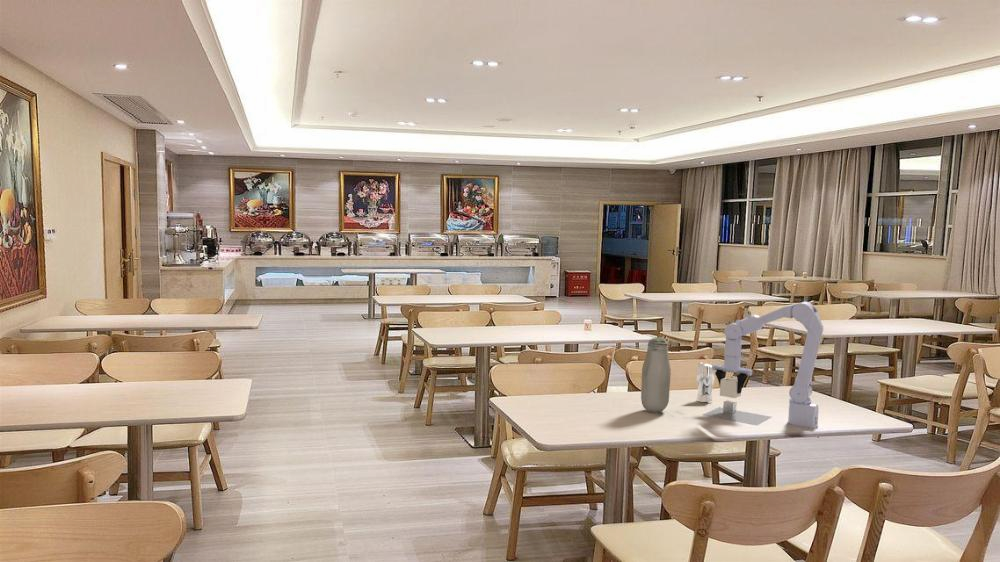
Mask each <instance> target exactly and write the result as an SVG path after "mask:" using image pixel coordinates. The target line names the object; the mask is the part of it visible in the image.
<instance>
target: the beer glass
mask: <svg viewBox="0 0 1000 562" xmlns="http://www.w3.org/2000/svg"><path fill="white" fill-rule="evenodd" d="M714 364H715V363H710V362H709V363H708V362H707V363H706V362H699V363H697V368H696V369H697V370H696V384H697V385H696V386H697V397H696V402H697V401H700V402H699V403H701V402H711V401H712V402H713V396H712V392H713V387H714V384H715V377H716V375H715V372H716V370H712V365H714Z"/></svg>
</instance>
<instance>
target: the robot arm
mask: <svg viewBox="0 0 1000 562" xmlns="http://www.w3.org/2000/svg"><path fill="white" fill-rule="evenodd" d="M820 317H821V316H820V315H819V311H818V309H817V308H816V306H814V305H813V303H811V302H809V301H801V302H799V303H793V304H789V305H785V306H782V307H779V308H777V309H775V310H772V311H770V312H768V313H765V314H764V315H761V316H759V315H757V314H748V315H747V317H745V318H743V319H740V320H739V319H736V320H735V322H732V323H729V324H727V325H726V326H725V328H724V335H725V342H724V343H725V344H724V361H723V364H716V363H713V364H714V365H712V370H715V377H716V379H717V381H718V385H719V386H720V382H721V379H724V378H726V375H727V373H731V374H733V373H734V374H736V379H737V380H738V387H737V394H740V393H741V394H742V389H743V387H744V385H745V382H746V381H747V379H748V377H750V376H752V375H753V369H750V368H744V367H741V362H742V361H741V359H742V336H747V335H750V334H753V333H755V332H758V331H760V330H762V329H763V327H764V325H765V324H768V323H771V322H774V321H777V320H780V319H784V318H785V319H793V318H794V320H795V321H797V322H799V323H800V324H801V325H802V326H803V327H804V329H806V331H807V334H806V338H805V343H804V346H803V350H802V353H801V359H800V363H799V367H798V371H797V375H796V378H795V380H794V383H793V385H792V386H791V387H790V389H789V391H788V392H789V397H790V398H789V400H788V401H789V404H788V417H787V423H788V424H790V425H793V426H797V427H798V426H799V427H806V428H811V429H813V428H815V429H817V428H818V427H819V425H818V423H819V405H818V404H816V403H812V400H811V398H810V396H812V393H813V387H812V381H813V373H814V370H815V365H816V361H817V357H818V353H819V350H820V346H821V345H820V344H821V340H822V337H823V332H824V325H823V323H822V320H821V318H820Z"/></svg>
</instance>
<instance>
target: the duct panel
mask: <svg viewBox="0 0 1000 562" xmlns="http://www.w3.org/2000/svg"><path fill="white" fill-rule="evenodd" d="M702 416H706V417H712V418H717V419H721V420H727V421H732V422H738V423H743V424H748V425H752V426H759V425H760V424H761V425H762V423H764V422H766V421H768V420H769V419H772V416H770V415H765V414H764V415H763V414H759V413H753V412H747V411H742V410H737V409H736V413H734V414H729V413H724V412H723V407H720V406H719V407H717V408H714V409H712V410H710V411H708V412H705V413H704V414H702Z"/></svg>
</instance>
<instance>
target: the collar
mask: <svg viewBox="0 0 1000 562" xmlns="http://www.w3.org/2000/svg"><path fill="white" fill-rule="evenodd" d="M737 387H738V380H737V378H733V377H726V376H725V378H724V379H721V382H720V385H719V396H720V397H727V398H730V399H732V398H733V399H736V398H739V397H741V396H742V392H741V393H740V394H737Z"/></svg>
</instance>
